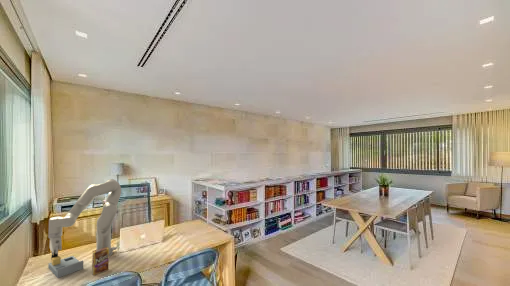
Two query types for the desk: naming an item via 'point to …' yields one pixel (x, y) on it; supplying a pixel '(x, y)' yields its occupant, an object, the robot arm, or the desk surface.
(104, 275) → the desk surface
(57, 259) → the block
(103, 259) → the candy box
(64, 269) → the board
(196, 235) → the desk surface
